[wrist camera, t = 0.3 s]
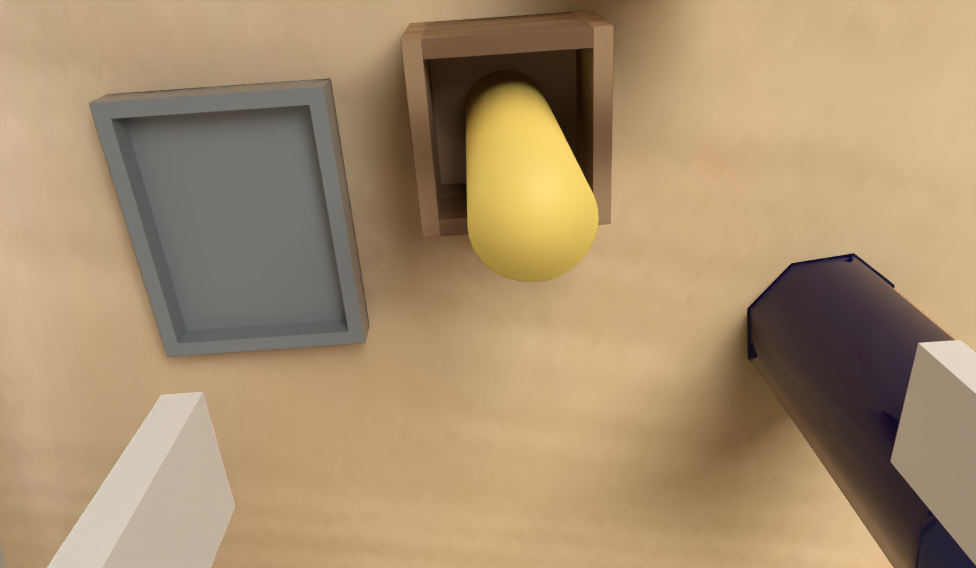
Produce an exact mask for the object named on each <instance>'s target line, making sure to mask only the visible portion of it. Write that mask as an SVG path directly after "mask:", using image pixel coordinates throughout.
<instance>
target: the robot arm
mask: <svg viewBox="0 0 976 568" xmlns="http://www.w3.org/2000/svg"><path fill="white" fill-rule="evenodd" d="M890 462H891V463H892V464H893V465H894V467H895V468H896V469H897V470H898V472H899V473H900V474H901V475H902V476H903V478H904V479H905V480H906V481H907V482H908V484H909V485H910V486H911V487H912V489H913V490H914V491H915V492H916V493H917V495H918V496H919V497H920V498H921V500H922V501H923V502H924V503H925V504H926V506H927V507H928V508H929V509H930V511H931V512H932V513H933V514H934V515H935V517H936V518H937V519H938V520H939V521H940V523H941V524H942V525H943V526H944V528H945V529H946V530H947V531H948V532H949V534H950V535H951V536H952V537H953V539H954V540H955V541H956V542H957V543H958V545H959V546H960V547H961V548H962V549H963V551H964V552H965V553H966V554H967V556H968V557H969V558H970V559H971V560H972V562H973V563H974V564H975V565H976V353H975V352H974V351H973V350H972V349H970V348H969V347H968V346H967V345H965V344H964V343H963V342H962V341H961V340H952V341H938V342H923V343H918V346H917V350H916V355H915V359H914V363H913V367H912V372H911V376H910V380H909V384H908V389H907V393H906V397H905V401H904V406H903V410H902V414H901V419H900V423H899V427H898V431H897V436H896V440H895V444H894V448H893V453H892V457H891V461H890ZM234 509H235V503H234V500H233V496H232V493H231V489H230V485H229V482H228V478H227V475H226V471H225V468H224V464H223V461H222V457H221V453H220V450H219V446H218V443H217V439H216V436H215V432H214V428H213V425H212V421H211V418H210V414H209V411H208V407H207V403H206V400H205V396H204V393H203V392H193V393H179V394H164V395H161V396H160V397H159V399H158V401H157V402H156V404H155V405H154V407H153V408H152V410H151V411H150V413H149V414H148V416H147V417H146V419H145V420H144V422H143V423H142V425H141V426H140V428H139V429H138V431H137V432H136V434H135V435H134V437H133V438H132V440H131V441H130V443H129V444H128V446H127V447H126V449H125V450H124V452H123V453H122V455H121V456H120V458H119V459H118V461H117V462H116V464H115V465H114V467H113V468H112V470H111V471H110V473H109V474H108V476H107V477H106V479H105V480H104V482H103V484H102V485H101V487H100V488H99V490H98V491H97V493H96V494H95V496H94V497H93V499H92V500H91V502H90V503H89V505H88V506H87V508H86V509H85V511H84V512H83V514H82V515H81V517H80V518H79V520H78V521H77V523H76V524H75V526H74V527H73V529H72V530H71V532H70V533H69V535H68V536H67V538H66V539H65V541H64V542H63V544H62V545H61V547H60V548H59V550H58V551H57V553H56V554H55V556H54V557H53V559H52V560H51V562H50V563H49V565H48V566H47V568H211V567H212V564H213V562H214V559H215V557H216V554H217V552H218V549H219V547H220V544H221V542H222V539H223V537H224V534H225V532H226V529H227V527H228V524H229V522H230V519H231V517H232V514H233V512H234Z"/></svg>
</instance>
